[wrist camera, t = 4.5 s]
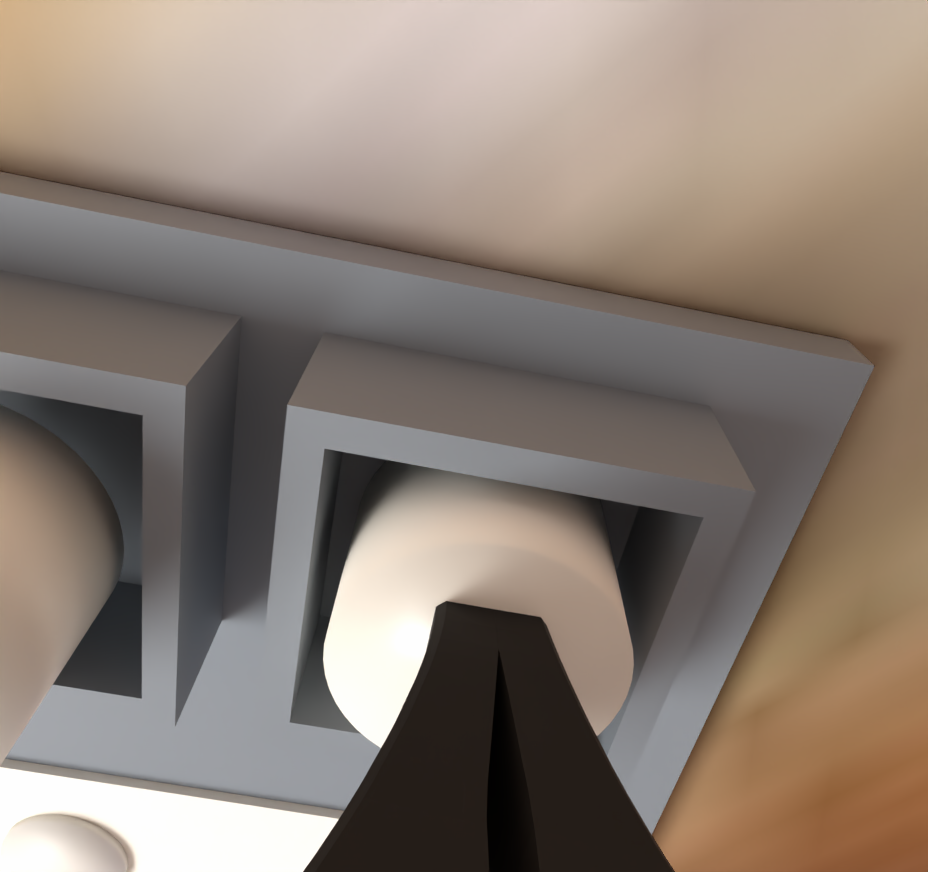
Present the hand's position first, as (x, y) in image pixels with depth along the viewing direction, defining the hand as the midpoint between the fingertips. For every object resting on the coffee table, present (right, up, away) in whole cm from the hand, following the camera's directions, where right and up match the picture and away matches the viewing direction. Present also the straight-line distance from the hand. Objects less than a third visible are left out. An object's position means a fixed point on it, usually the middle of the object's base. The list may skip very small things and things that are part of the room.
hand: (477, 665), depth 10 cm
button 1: (0, +1, +3) cm, 3 cm away
